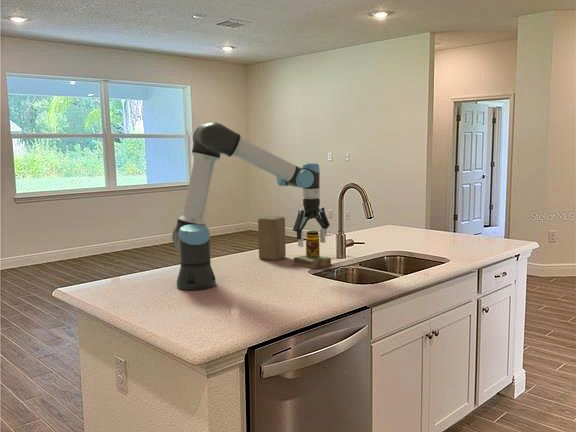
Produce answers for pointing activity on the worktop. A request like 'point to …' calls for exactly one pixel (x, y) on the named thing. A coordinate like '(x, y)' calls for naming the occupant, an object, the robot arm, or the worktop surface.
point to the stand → (312, 262)
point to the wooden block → (271, 237)
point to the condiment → (312, 245)
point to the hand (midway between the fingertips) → (311, 244)
